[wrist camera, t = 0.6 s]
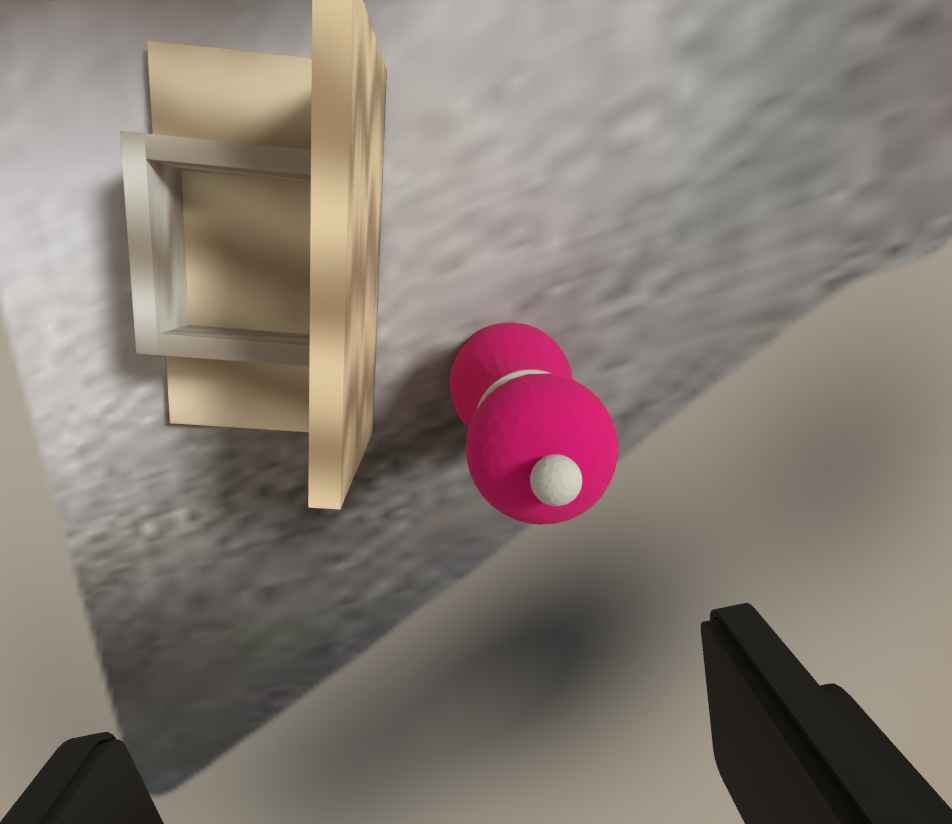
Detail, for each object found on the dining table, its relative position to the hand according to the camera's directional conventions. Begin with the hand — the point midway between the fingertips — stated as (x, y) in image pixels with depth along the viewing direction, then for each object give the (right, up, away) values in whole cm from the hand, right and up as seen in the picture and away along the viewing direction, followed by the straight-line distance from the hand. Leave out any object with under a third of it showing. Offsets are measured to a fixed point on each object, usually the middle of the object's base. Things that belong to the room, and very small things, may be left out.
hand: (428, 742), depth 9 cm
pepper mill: (+3, +8, +29) cm, 30 cm away
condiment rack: (-12, +15, +26) cm, 32 cm away
